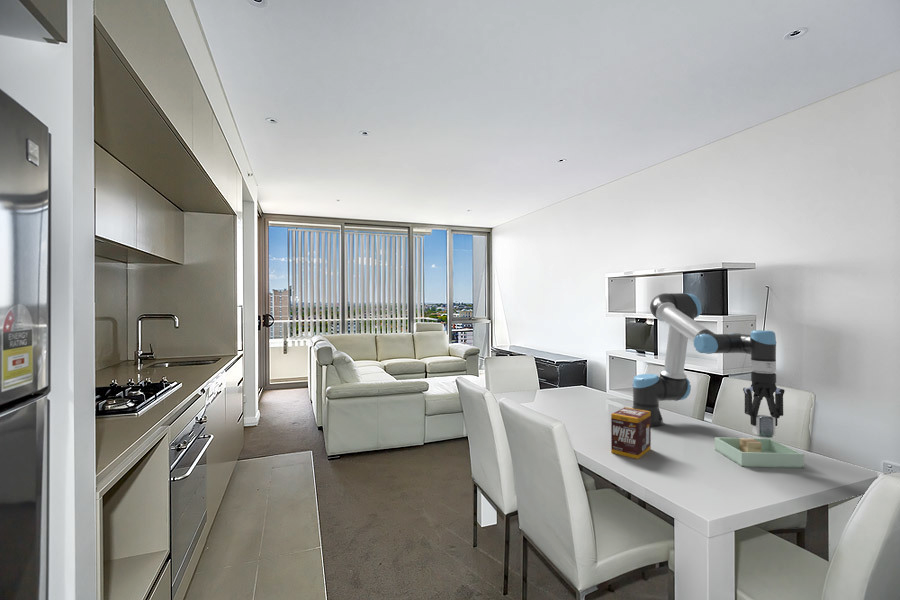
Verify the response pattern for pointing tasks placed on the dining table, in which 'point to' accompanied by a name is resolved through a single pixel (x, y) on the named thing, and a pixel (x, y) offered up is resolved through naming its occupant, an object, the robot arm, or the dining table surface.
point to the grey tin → (765, 426)
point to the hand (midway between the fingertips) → (763, 434)
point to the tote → (760, 454)
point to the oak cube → (750, 445)
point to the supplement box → (631, 432)
